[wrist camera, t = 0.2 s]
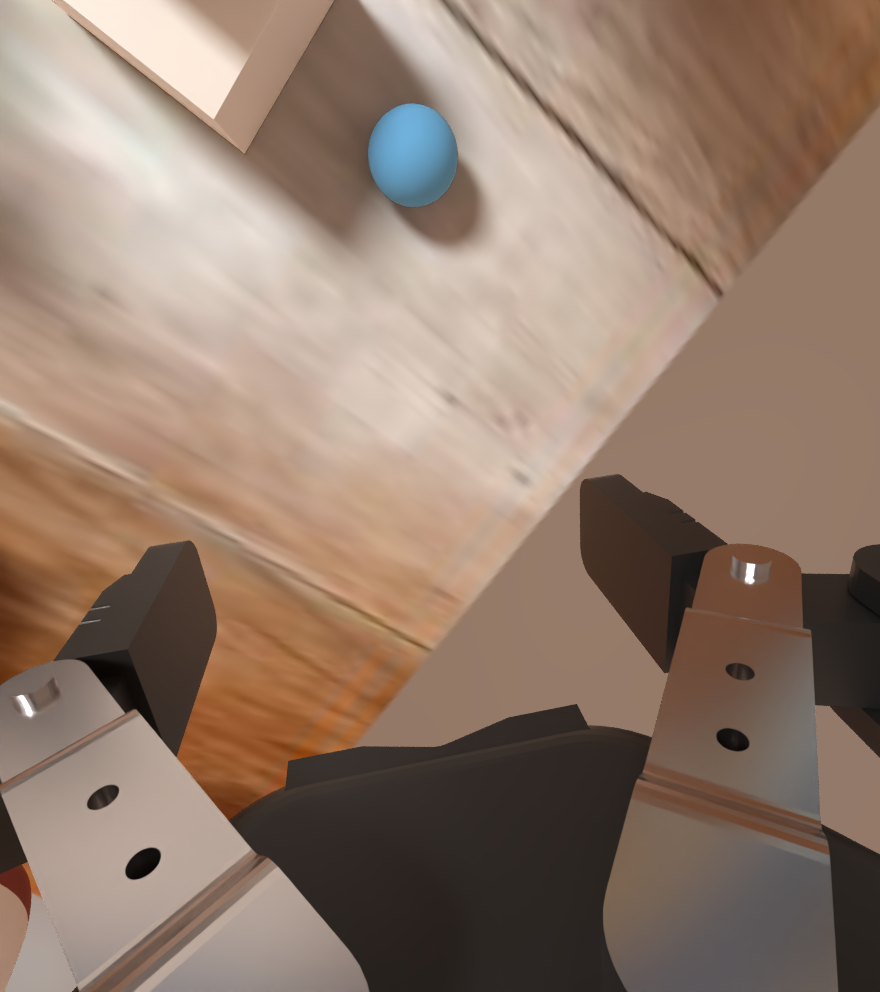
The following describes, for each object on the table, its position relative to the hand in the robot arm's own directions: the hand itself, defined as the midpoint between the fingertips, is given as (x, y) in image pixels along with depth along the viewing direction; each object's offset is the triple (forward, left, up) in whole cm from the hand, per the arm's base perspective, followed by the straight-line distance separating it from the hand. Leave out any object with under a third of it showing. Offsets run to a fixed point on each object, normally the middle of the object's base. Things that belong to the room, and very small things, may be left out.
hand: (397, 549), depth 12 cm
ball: (-11, +4, -26) cm, 29 cm away
